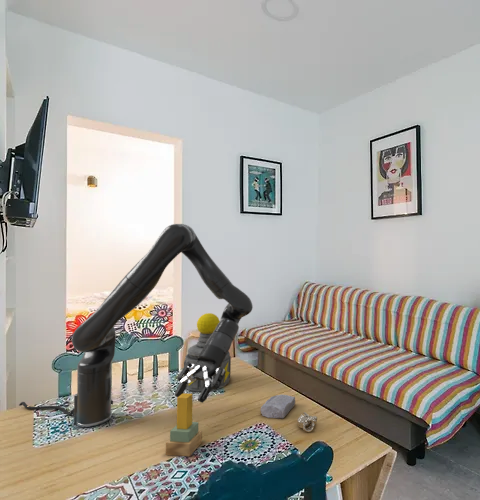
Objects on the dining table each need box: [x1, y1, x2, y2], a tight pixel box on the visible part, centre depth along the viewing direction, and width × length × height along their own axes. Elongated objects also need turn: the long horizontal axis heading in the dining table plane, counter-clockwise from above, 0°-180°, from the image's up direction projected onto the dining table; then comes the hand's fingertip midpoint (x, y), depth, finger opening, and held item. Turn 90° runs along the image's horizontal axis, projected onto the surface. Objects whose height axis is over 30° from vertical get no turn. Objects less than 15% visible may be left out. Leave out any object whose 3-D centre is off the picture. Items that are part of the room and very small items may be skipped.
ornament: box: [296, 411, 318, 433], centre depth 115 cm, size 8×7×4 cm
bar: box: [176, 392, 194, 429], centre depth 101 cm, size 3×3×9 cm
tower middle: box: [169, 421, 199, 442], centre depth 101 cm, size 6×6×3 cm
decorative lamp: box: [183, 312, 232, 393], centre depth 148 cm, size 19×19×30 cm
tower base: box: [165, 430, 203, 457], centre depth 101 cm, size 7×7×4 cm
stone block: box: [260, 394, 296, 419], centre depth 126 cm, size 12×5×10 cm
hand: (188, 399), depth 102 cm, fingers open, 8 cm apart
